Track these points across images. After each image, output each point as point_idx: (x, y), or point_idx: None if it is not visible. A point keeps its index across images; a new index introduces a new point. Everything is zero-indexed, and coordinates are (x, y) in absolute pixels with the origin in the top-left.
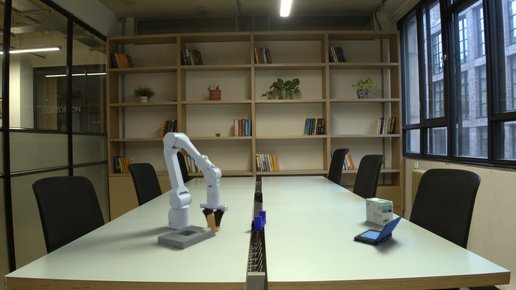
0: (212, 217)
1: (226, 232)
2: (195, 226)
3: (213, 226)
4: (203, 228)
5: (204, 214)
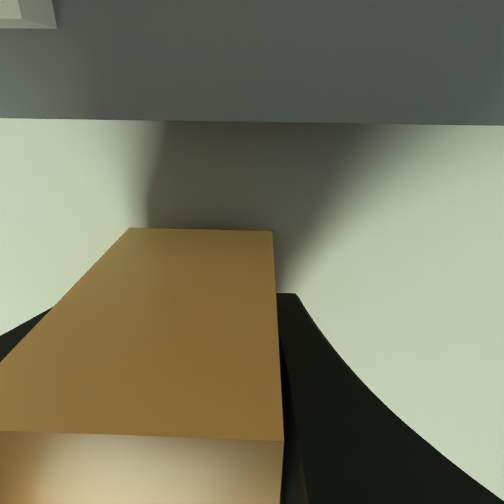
0: (46, 391)
1: (14, 293)
2: (483, 91)
3: (121, 259)
4: (199, 52)
5: (432, 464)
